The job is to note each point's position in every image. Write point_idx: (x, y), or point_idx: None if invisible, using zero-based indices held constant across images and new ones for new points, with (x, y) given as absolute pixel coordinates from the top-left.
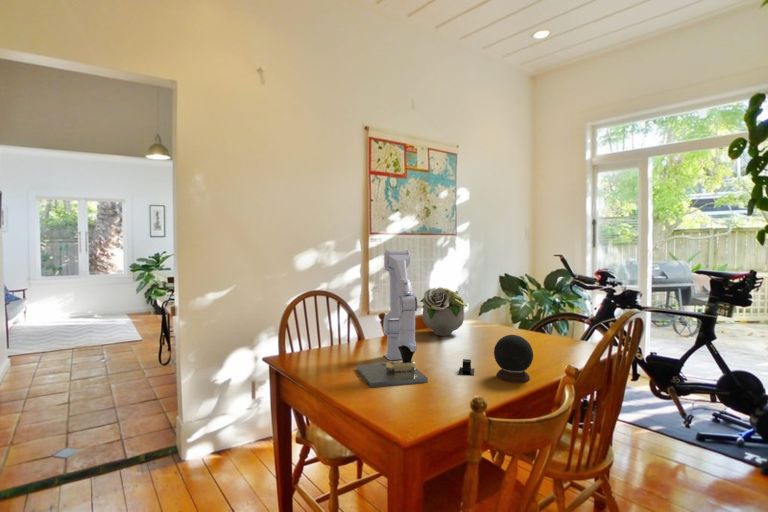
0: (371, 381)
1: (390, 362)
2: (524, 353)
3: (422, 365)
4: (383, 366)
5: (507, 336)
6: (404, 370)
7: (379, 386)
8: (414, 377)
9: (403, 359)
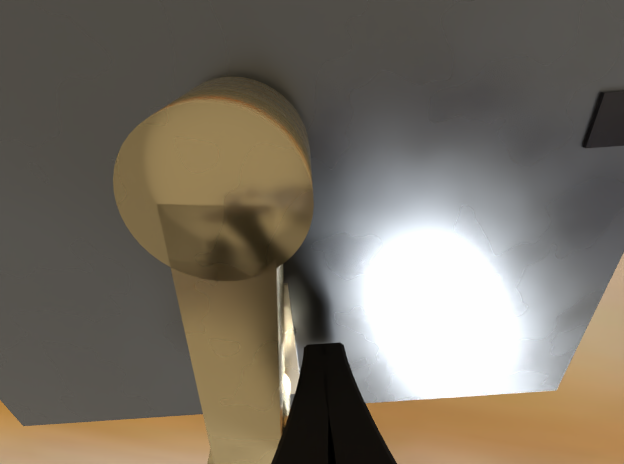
0: None
1: (274, 215)
2: None
3: (475, 432)
4: (528, 88)
5: None
6: None
7: None
8: (7, 349)
9: (289, 434)
